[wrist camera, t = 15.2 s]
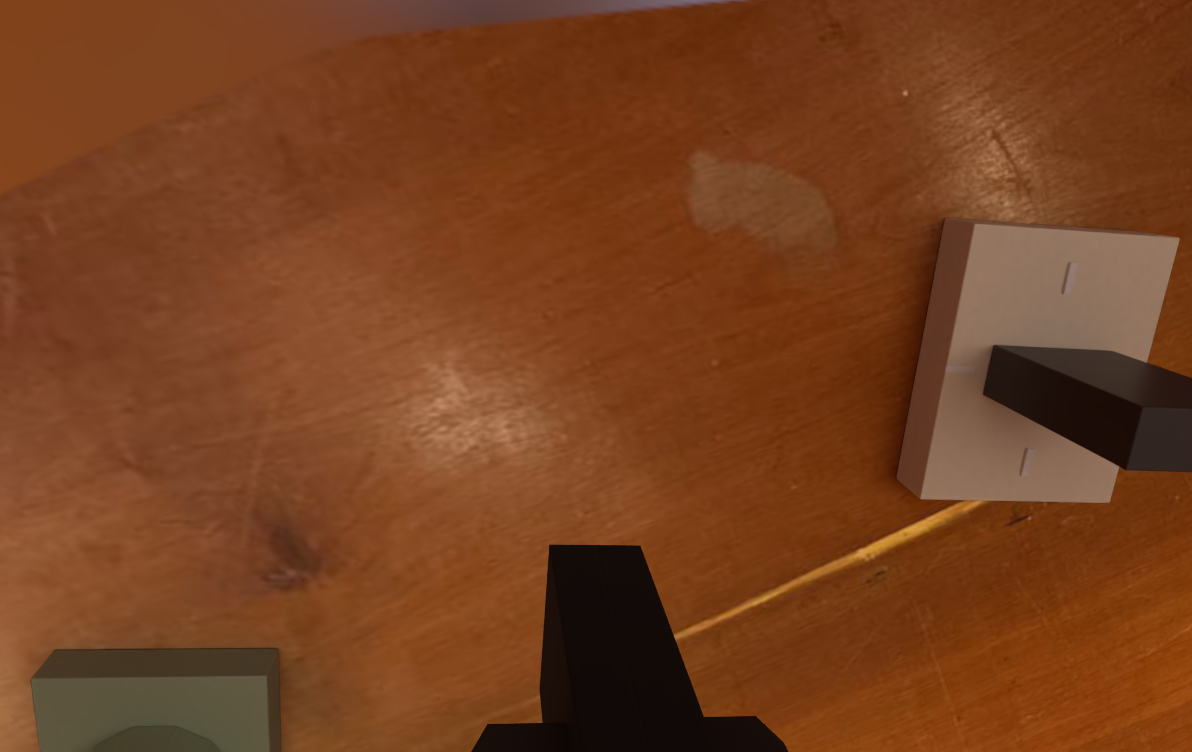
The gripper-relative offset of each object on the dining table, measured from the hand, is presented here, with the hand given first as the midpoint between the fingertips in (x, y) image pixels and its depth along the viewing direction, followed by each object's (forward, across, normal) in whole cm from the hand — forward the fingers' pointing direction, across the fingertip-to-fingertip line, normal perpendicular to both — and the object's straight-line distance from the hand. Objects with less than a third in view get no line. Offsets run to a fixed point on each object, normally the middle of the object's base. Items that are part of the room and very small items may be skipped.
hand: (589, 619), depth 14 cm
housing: (+24, -16, -23) cm, 37 cm away
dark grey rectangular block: (+22, +24, -1) cm, 32 cm away
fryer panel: (+24, +24, -1) cm, 34 cm away
